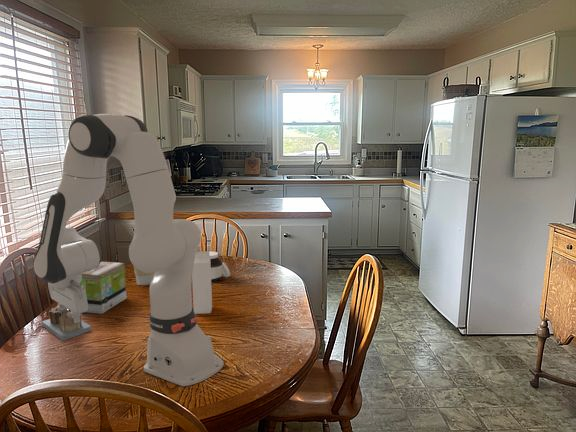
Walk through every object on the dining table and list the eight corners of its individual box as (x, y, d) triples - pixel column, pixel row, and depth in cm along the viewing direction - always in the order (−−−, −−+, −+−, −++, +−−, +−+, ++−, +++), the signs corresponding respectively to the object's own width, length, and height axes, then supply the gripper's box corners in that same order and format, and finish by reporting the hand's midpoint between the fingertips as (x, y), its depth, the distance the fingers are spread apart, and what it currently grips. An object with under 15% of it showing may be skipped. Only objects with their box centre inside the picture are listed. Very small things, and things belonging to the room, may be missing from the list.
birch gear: (85, 326, 135) (83, 315, 134) (65, 333, 130) (64, 321, 130) (76, 321, 139) (75, 310, 138) (57, 328, 134) (56, 316, 133)
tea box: (103, 314, 148) (99, 274, 145) (78, 312, 150) (74, 272, 147) (127, 298, 162) (124, 262, 159) (104, 296, 164) (101, 260, 161)
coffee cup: (160, 281, 181) (158, 247, 178) (143, 287, 173) (141, 252, 170) (146, 277, 185) (144, 244, 183) (129, 283, 178) (126, 249, 175)
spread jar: (196, 279, 183) (195, 254, 181) (214, 272, 192) (213, 248, 190) (217, 284, 177) (216, 258, 174) (234, 277, 186) (233, 251, 184)
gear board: (91, 330, 136) (89, 311, 134) (62, 340, 129) (60, 321, 128) (70, 316, 146) (68, 299, 145) (42, 325, 139) (40, 307, 138)
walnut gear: (75, 318, 141) (74, 307, 140) (57, 325, 136) (56, 314, 135) (64, 315, 144) (63, 304, 143) (46, 321, 139) (45, 310, 138)
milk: (210, 313, 149) (208, 253, 144) (193, 314, 148) (190, 254, 144) (212, 306, 154) (210, 249, 150) (195, 307, 154) (193, 249, 149)
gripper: (91, 282, 127) (95, 324, 130) (63, 268, 140) (67, 307, 143) (69, 287, 122) (74, 331, 125) (42, 273, 135) (47, 313, 138)
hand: (70, 318), depth 134 cm, fingers open, 7 cm apart
